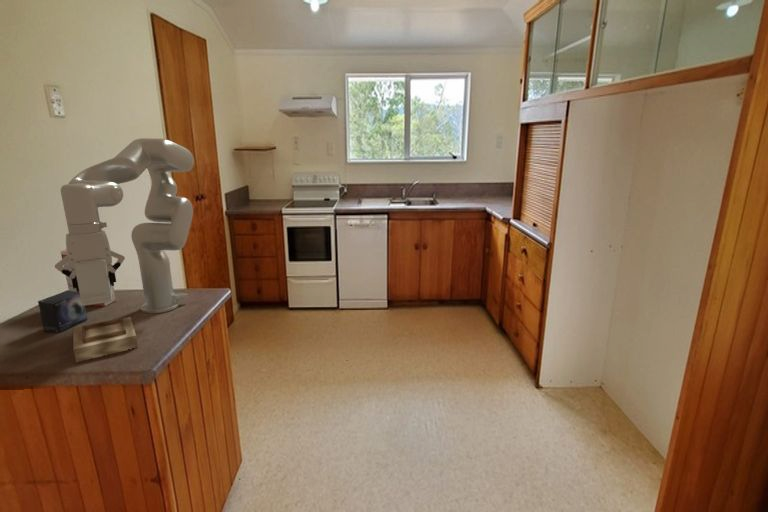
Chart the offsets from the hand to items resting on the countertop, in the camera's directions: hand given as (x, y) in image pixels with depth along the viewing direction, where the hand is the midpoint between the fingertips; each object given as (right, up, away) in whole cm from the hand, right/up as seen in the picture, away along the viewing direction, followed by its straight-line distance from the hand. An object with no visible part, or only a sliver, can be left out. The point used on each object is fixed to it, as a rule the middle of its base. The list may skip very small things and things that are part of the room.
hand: (95, 287), depth 120 cm
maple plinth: (0, -18, +5) cm, 18 cm away
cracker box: (-25, -9, +35) cm, 44 cm away
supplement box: (0, -4, +1) cm, 4 cm away
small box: (-21, -14, +17) cm, 31 cm away
